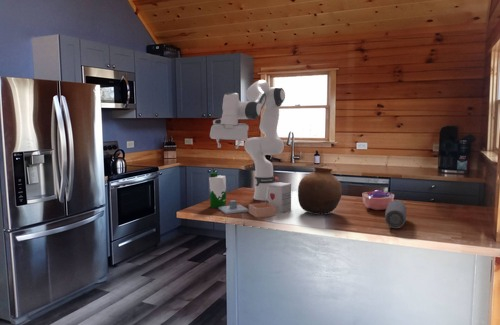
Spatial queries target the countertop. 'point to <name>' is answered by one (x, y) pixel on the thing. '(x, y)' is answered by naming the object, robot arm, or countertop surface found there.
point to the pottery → (319, 191)
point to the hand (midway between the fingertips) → (228, 148)
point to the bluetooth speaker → (395, 214)
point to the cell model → (377, 199)
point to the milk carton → (217, 190)
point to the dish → (262, 210)
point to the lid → (233, 208)
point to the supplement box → (280, 196)
